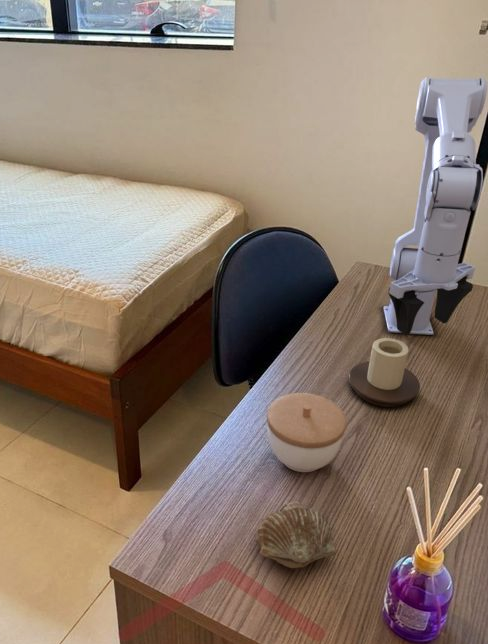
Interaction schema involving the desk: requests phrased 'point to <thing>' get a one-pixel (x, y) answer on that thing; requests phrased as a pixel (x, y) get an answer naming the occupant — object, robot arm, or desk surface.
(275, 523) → the seashell
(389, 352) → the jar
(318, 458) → the trinket box
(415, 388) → the stand
